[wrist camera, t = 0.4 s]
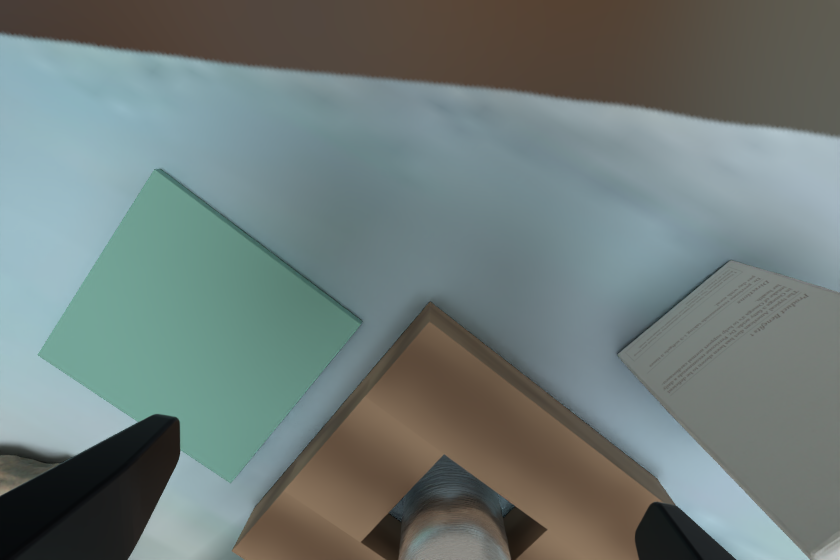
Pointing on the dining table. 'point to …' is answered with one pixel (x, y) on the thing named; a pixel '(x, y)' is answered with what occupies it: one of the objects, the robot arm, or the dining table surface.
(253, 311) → the teal mat
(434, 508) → the steel cylinder
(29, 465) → the beige elongated piece
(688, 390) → the supplement box
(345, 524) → the socket block
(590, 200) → the dining table surface
